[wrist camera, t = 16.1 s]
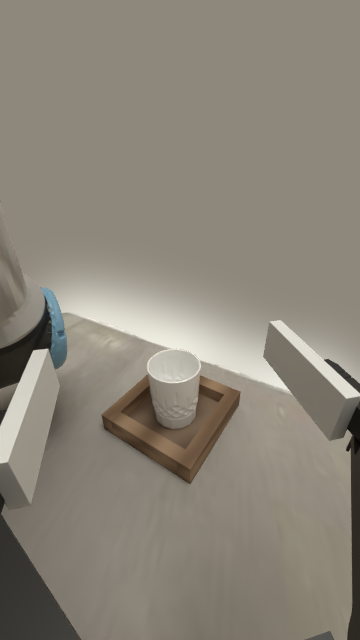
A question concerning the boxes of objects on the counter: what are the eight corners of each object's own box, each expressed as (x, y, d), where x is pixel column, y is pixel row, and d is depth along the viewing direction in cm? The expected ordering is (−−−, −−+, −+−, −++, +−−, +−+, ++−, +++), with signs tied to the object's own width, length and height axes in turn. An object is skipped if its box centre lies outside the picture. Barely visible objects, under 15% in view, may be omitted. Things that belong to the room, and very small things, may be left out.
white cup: (141, 412, 45) (135, 364, 40) (176, 388, 49) (175, 343, 44) (174, 442, 40) (171, 391, 35) (209, 412, 44) (212, 364, 39)
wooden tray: (104, 428, 43) (101, 415, 41) (164, 372, 55) (163, 360, 53) (190, 483, 35) (190, 469, 34) (238, 404, 47) (240, 391, 45)
